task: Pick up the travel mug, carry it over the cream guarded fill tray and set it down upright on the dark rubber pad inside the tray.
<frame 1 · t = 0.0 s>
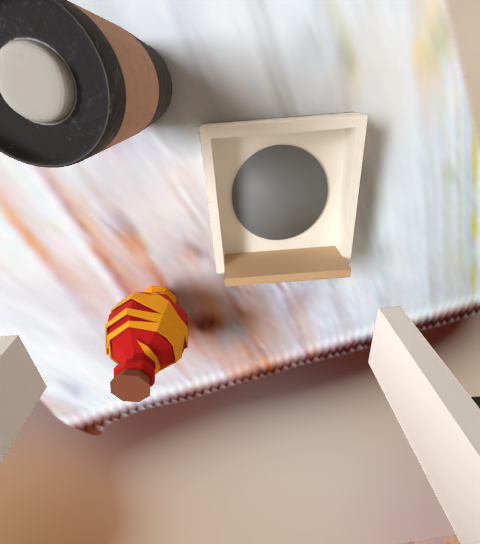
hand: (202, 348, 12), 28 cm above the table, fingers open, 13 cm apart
potion bottle: (158, 299, 45), on the table
travel mug: (136, 84, 32), on the table
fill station: (278, 192, 38), on the table
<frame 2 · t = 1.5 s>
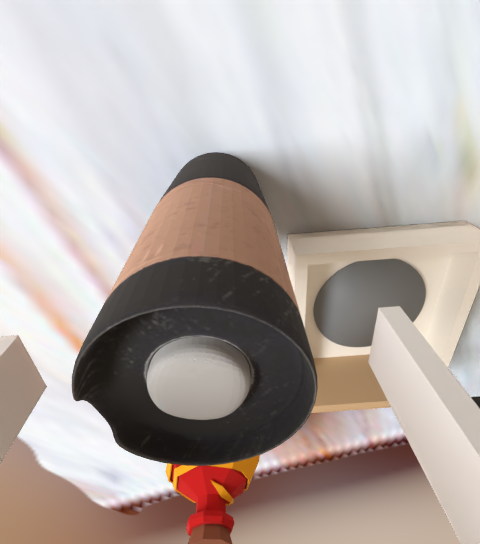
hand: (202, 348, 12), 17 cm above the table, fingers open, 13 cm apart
potion bottle: (215, 397, 40), on the table
travel mug: (216, 195, 27), on the table
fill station: (364, 299, 33), on the table
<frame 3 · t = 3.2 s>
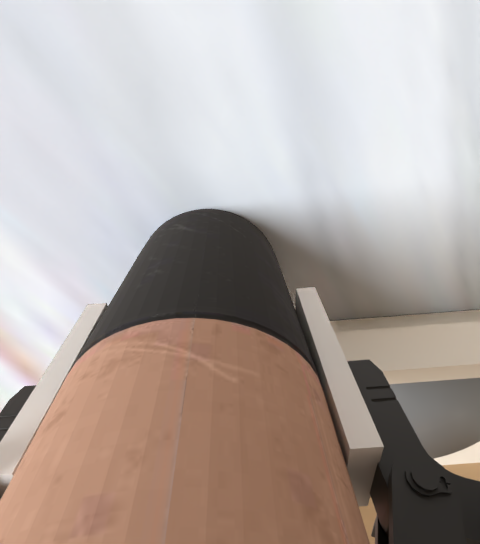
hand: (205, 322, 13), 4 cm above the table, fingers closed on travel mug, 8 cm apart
travel mug: (210, 270, 17), on the table, touching gripper
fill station: (423, 399, 23), on the table
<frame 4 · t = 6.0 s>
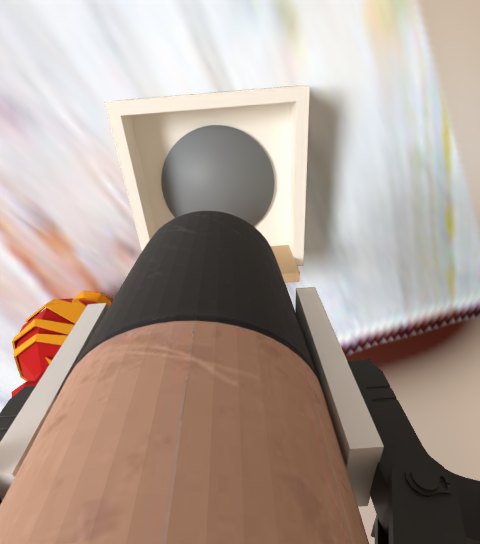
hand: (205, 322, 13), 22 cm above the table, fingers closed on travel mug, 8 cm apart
potion bottle: (94, 306, 40), on the table
travel mug: (210, 271, 17), point 18 cm above the table, touching gripper
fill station: (218, 183, 32), on the table
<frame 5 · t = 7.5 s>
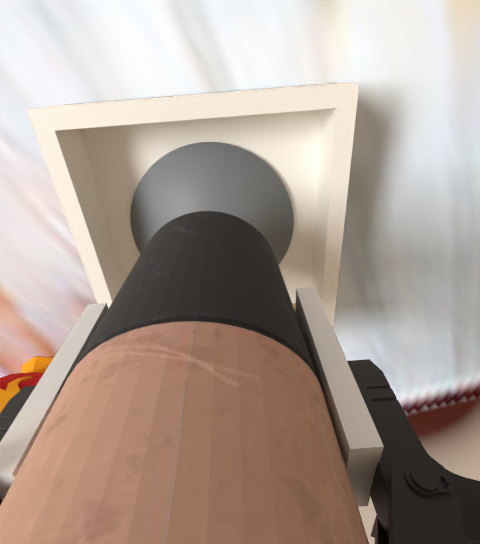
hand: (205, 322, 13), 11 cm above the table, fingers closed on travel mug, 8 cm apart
potion bottle: (51, 373, 30), on the table
travel mug: (210, 271, 17), point 7 cm above the table, touching gripper
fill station: (213, 221, 23), on the table
when the fingers open (7 cm above the table, at t = 8.7 s): travel mug drops 1 cm, resting on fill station.
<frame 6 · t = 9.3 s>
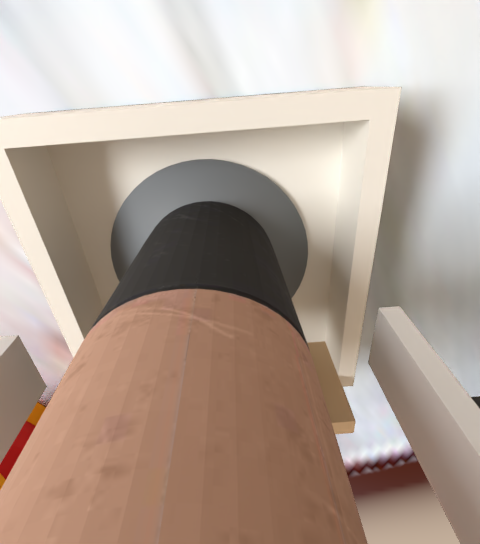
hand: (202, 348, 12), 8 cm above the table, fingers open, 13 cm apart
potion bottle: (27, 416, 27), on the table
travel mug: (210, 259, 18), point 1 cm above the table, touching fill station
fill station: (211, 251, 19), on the table
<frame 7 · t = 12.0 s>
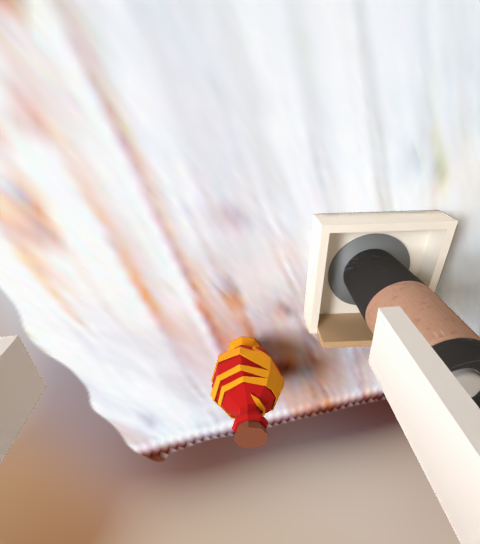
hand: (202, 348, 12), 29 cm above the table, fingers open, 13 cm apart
potion bottle: (244, 347, 51), on the table
travel mug: (368, 271, 43), point 1 cm above the table, touching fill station
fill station: (365, 267, 44), on the table
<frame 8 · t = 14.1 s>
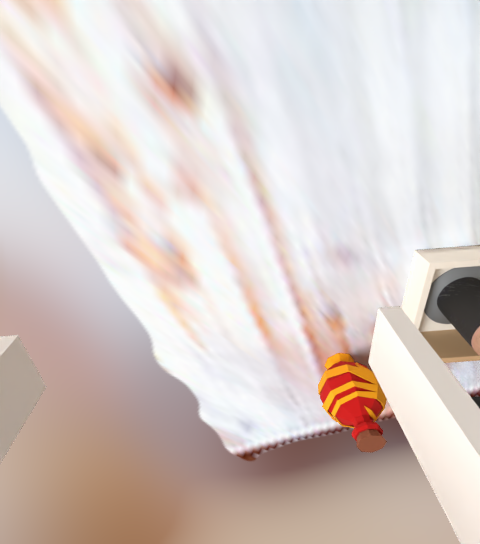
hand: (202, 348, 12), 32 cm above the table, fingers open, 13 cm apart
potion bottle: (339, 362, 58), on the table
travel mug: (459, 295, 49), point 1 cm above the table, touching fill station
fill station: (454, 291, 50), on the table
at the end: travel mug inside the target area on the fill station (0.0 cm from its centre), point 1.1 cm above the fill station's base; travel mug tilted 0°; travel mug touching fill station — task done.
